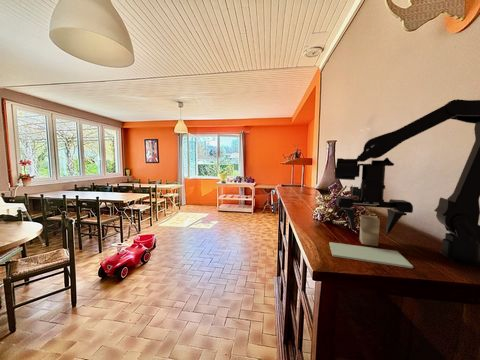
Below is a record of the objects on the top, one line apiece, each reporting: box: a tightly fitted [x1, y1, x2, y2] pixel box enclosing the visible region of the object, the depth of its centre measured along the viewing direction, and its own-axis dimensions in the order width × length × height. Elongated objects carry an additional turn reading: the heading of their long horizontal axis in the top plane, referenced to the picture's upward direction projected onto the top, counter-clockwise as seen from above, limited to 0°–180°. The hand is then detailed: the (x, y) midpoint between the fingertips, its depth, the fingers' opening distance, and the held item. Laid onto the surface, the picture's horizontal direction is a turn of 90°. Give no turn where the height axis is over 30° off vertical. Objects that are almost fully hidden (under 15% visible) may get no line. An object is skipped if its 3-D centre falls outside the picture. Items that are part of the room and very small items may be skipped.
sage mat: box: [328, 241, 414, 269], centre depth 53 cm, size 17×9×1 cm, turn 71°
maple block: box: [358, 214, 381, 247], centre depth 61 cm, size 4×4×8 cm
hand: (369, 231), depth 61 cm, fingers open, 9 cm apart
